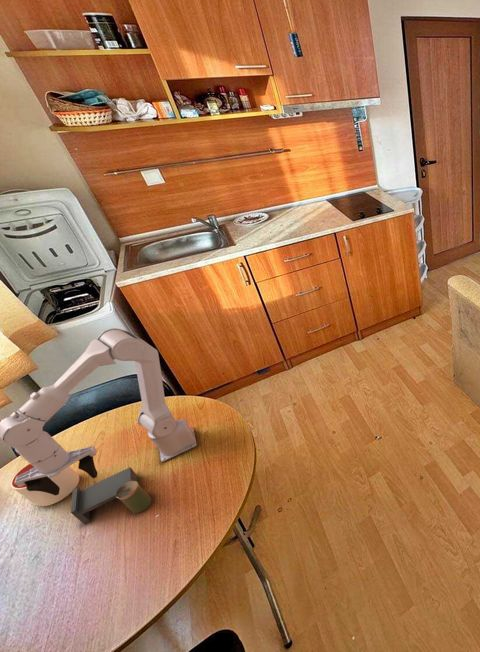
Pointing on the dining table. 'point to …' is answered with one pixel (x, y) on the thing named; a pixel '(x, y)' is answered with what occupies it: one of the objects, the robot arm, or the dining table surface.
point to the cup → (65, 482)
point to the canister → (133, 496)
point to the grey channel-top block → (99, 494)
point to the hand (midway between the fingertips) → (77, 483)
